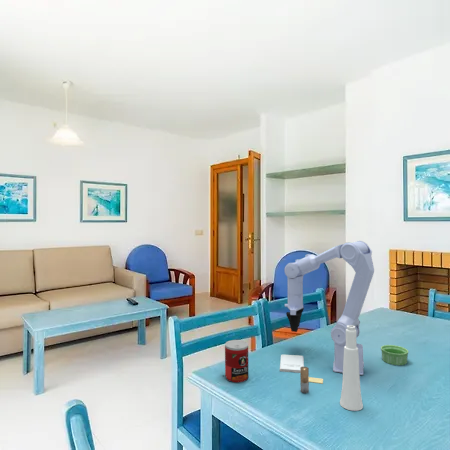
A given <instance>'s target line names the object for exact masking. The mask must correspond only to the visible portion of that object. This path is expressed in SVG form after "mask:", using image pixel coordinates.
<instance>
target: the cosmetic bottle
mask: <svg viewBox="0 0 450 450" xmlns="http://www.w3.org/2000/svg"><path fill="white" fill-rule="evenodd" d="M356 342H357V338H356V330H355V326H353V325H347V329H346V346H344V360H343V373H342V385H341V391H340V392H341V393H340V399H339V405H340V406H341V407H342V408H343V409H345V410H348V411H353V412H356V411H357V412H358V411H361V410H363V408H364V404H363V399H362V393H361V391H362V390H361V378H360V376H361V375H359V355H358V348H357V347H356Z"/></svg>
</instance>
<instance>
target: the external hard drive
mask: <svg viewBox="0 0 450 450" xmlns="http://www.w3.org/2000/svg"><path fill="white" fill-rule="evenodd" d="M304 361H305V359H304V355H298V354H295V355H294V354H281V355H280V362H279V363H280V364H279V372H283V373H295V374H300V368H301V367H305V364H304V363H305V362H304Z"/></svg>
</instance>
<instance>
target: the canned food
mask: <svg viewBox="0 0 450 450" xmlns="http://www.w3.org/2000/svg"><path fill="white" fill-rule="evenodd" d="M224 367H225V368H224V370H225V371H224V372H225V374H224V375H225V378H226V380H227V379H228V380H227V381H229V382H231V381H232V382H231V383H243V382H246V381H247V380H248V378H249V343H248V342H247V341H244V340H241V339H232V340H228V341H226V342H225V344H224Z"/></svg>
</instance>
